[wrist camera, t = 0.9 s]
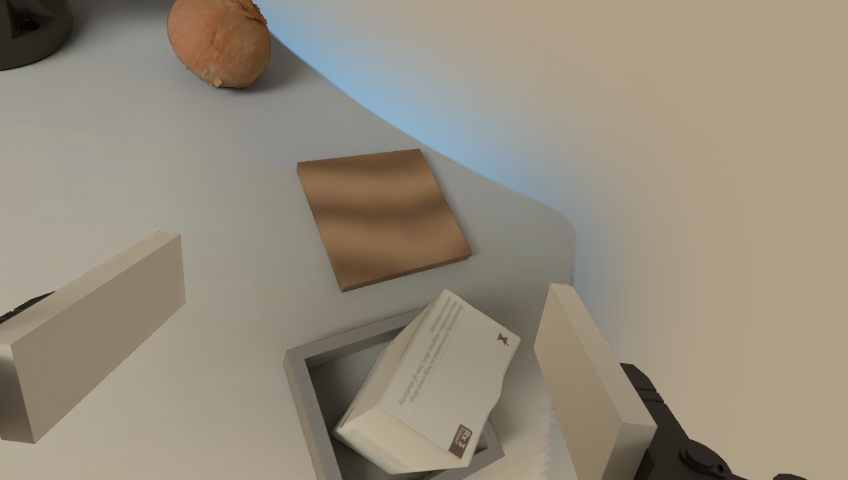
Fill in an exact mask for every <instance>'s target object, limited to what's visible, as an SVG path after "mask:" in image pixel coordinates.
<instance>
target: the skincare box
mask: <svg viewBox="0 0 848 480" xmlns="http://www.w3.org/2000/svg"><path fill="white" fill-rule="evenodd" d="M520 341H521V338H520V337H519V336H517V335H516V334H514V333H512V332H511V331H509V330H508V329H506V328H505V327H504V326H502V325H500V324H499V323H497V322H496V321H494V320H493V319H491V318H490V317H488V316H487V315H485V314H483V313H482V312H480V311H479V310H477V309H476V308H474V307H473V306H471V305H470V304H468V303H467V302H466V301H464V300H463V299H461V298H460V297H459V296H457V295H456V294H454V293H453V292H451V291H450V290H448V289H444V290H443V291H442V293H441V294H440V295H439V296H438V297H437V298H436V299H435V300H434V301H433V302H432V303H431V304H430V305H429V306H428V307H427V308H426V309H425V310H424V311H422V312H421V313H420V314H419V315H418V316H417V317H416V318H415V319H414V320H413V321H412V322H411V323H410V324H409V325H408V326H407V327H406V328H405V329H404V330H403V331H402V332H401V333H400V334H399V335H398V336H397V337H396V338H395V339H394V340H393V341H391V342H390V343H389V344H388V345H387V346H386V347H385V348H384V349H383V350H382V351H381V353H380V354H379V356H378V358H377V360H376V362H375V364H374V366H373V368H372V369H371V371H370V373H369V375H368V376H367V378H366V380H365V381H364V383H363V385H362V386H361V388H360V390H359V391H358V393H357V394H356V396H355V398H354V399H353V401H352V402H351V404H350V405H349V407H348V408H347V410H346V411H345V413H344V414H343V416H342V417H341V419H340V420H339V421H338V423H337V424H336V426H335V427H334V429H333V430H332V432H331V435H332V436H333V437H334V438H336V439H338V440H339V441H341V442H342V443H344V444H345V445H347V446H348V447H350V448H351V449H353V450H354V451H356V452H357V453H359V454H360V455H362V456H363V457H365V458H366V459H368V460H369V461H371V462H372V463H374V464H375V465H377V466H378V467H380V468H381V469H383V470H384V471H385V472H387V473H388V474H390V475H391V474H399V473H410V472H420V471H430V470H439V469H450V468H462V467H468V466H469V465H470V462H471V460H472V457H473V454H474V452H475V449H476V447H477V444H478V441H479V438H480V436H481V433H482V431H483V428H484V426H485V423H486V421H487V418H488V416H489V413H490V411H491V410H492V409H493V407H494V406H495V405H496V403H497V402H498V400H499V398H500V395H501V391H502V382H503V379H504V376H505V374H506V371H507V369H508V366H509V364H510V362H511V360H512V357H513V355H514V354H515V352H516V350H517V348H518V346H519V344H520Z"/></svg>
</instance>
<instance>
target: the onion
mask: <svg viewBox="0 0 848 480" xmlns="http://www.w3.org/2000/svg"><path fill="white" fill-rule="evenodd" d="M266 21H267V20H265V19H264V17H263V15H262V14H261V13H260V10H259V8H258V7H257V5H255V4H253V3H252V0H176V1H175V3H174V5H173V6H172V8H171V10H170V12H169V15H168V20H167V31H168V37H169V41H170V44H171V46H172V48H173V50H174V52H175V54H176V55H177V57H178V58H179V59H180V61H181V62H182V63H183V64H184V65H185V66H186V68H187V69H189V70H190V71H191V72H192V73H194V74H195V75H196V76H198V77H199V78H200V79H201V80H202V81H203V80H204V81H206V82H208V85H209V86H211V85H213V86H216V87H218V86H219V87H220V86H223V87H234V88H239V89H241V87H246V86H251V85H253V83H254V82H255V79H256V78H257V77H258V76H259V75H260V74H261V73H262V72H263V71H264V69H265V67H266V66H267V64H268V62H269V59H270V54H271V40H270V35H269V30H268V28H267V26H266V24H267V22H266ZM204 81H203V82H204Z"/></svg>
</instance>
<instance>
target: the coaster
mask: <svg viewBox="0 0 848 480" xmlns="http://www.w3.org/2000/svg"><path fill="white" fill-rule="evenodd" d="M297 173H298V175H299V178H300V181H301V183H302V186H303V189H304V191H305V194H306V197H307V200H308V202H309V205H310V208H311V210H312V213H313V216H314V219H315V221H316V224H317V227H318V229H319V232H320V235H321V238H322V240H323V243H324V246H325V248H326V251H327V254H328V257H329V259H330V262H331V265H332V267H333V270H334V273H335V276H336V278H337V281H338V284H339V286H340V289H341V292H346V291H349V290H353V289H357V288H361V287H364V286H368V285H372V284H376V283H379V282H383V281H387V280H390V279H394V278H398V277H402V276H405V275H409V274H413V273H417V272H420V271H424V270H428V269H432V268H435V267H439V266H443V265H447V264H450V263H454V262H458V261H462V260H465V259H468V258H469V257H470V256H471V254H472V252H471V250H470V248H469V246H468V244H467V242H466V240H465V238H464V236H463V234H462V232H461V230H460V228H459V226H458V224H457V222H456V220H455V218H454V216H453V214H452V212H451V210H450V208H449V206H448V204H447V202H446V200H445V198H444V196H443V194H442V192H441V190H440V188H439V186H438V185H437V183H436V181H435V179H434V177H433V175H432V173H431V171H430V169H429V167H428V165H427V163H426V161H425V159H424V157H423V155H422V153H421V151H420V149H412V150H403V151H394V152H385V153H377V154H368V155H359V156H351V157H342V158H333V159H324V160H316V161H307V162H298V165H297Z"/></svg>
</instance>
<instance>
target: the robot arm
mask: <svg viewBox="0 0 848 480" xmlns="http://www.w3.org/2000/svg"><path fill="white" fill-rule="evenodd" d="M72 26H73V18H72V14H71V11H70V8H69V5H68V2H67V0H0V70H1V69H7V68H12V67H17V66H21V65H25V64H28V63H31V62H34V61H36V60H39V59H41V58H43V57H45V56H47V55H49V54H50V53H52V52H54V51H55V50H56V49H58V48H59V47H60V46H61V45H62V44H63V43H64V42H65V41H66V40H67V38H68V37H69V35H70V33H71V30H72ZM185 303H186V302H185V288H184V275H183V262H182V248H181V235H180V234H176V233H169V232H161V231H158V232H156V233H154V234H153V235H151V236H149V237H148V238H146V239H144V240H143V241H141V242H139V243H137V244H136V245H134V246H132V247H131V248H129V249H127V250H126V251H124V252H122V253H121V254H119V255H117V256H115V257H114V258H112V259H110V260H109V261H107V262H105V263H104V264H102V265H100V266H98V267H97V268H95V269H93V270H92V271H90V272H88V273H87V274H85V275H83V276H81V277H80V278H78V279H76V280H75V281H73V282H71V283H70V284H68V285H66V286H64V287H63V288H61V289H59V290H58V291H54V292H51V293H48V294H45V295H42V296H39V297H36V298H33V299H31V300H29V301H27V302H26V303H24V304H22V305H20V306H19V307H17V308H15V309H14V311H13V312H11V311H10V312H8V313H7V314H5V315H3V316H1V317H0V435H1V439H2V440H8V441H16V442H25V443H33V444H35V443H36V442H37V441H38V440H39V439H41V438H42V437H43V436H44V435H45V434H46V433H47V432H48V431H49V430H50V429H51V428H52V427H53V426H54V425H56V424H57V423H58V422H59V421H60V420H61V419H62V418H63V417H64V416H65V415H66V414H67V413H68V412H69V411H70V410H72V409H73V408H74V407H75V406H76V405H77V404H78V403H79V402H80V401H81V400H82V399H83V398H84V397H85V396H86V395H88V394H89V393H90V392H91V391H92V390H93V389H94V388H95V387H96V386H97V385H98V384H99V383H100V382H101V381H103V380H104V379H105V378H106V377H107V376H108V375H109V374H110V373H111V372H112V371H113V370H114V369H115V368H116V367H117V366H119V365H120V364H121V363H122V362H123V361H124V360H125V359H126V358H127V357H128V356H129V355H130V354H131V353H132V352H134V351H135V350H136V349H137V348H138V347H139V346H140V345H141V344H142V343H143V342H144V341H145V340H146V339H147V338H148V337H150V336H151V335H152V334H153V333H154V332H155V331H156V330H157V329H158V328H159V327H160V326H161V325H162V324H163V323H164V322H166V321H167V320H168V319H169V318H170V317H171V316H172V315H173V314H174V313H175V312H176V311H177V310H178V309H179V308H181V307H182V306H183V305H184V304H185ZM534 350H535V353H536V356H537V359H538V362H539V365H540V368H541V371H542V374H543V377H544V380H545V383H546V386H547V389H548V392H549V395H550V398H551V400H552V403H553V406H554V409H555V412H556V415H557V418H558V421H559V424H560V427H561V430H562V433H563V436H564V439H565V442H566V445H567V448H568V450H569V453H570V457H571V460H572V462H573V465H574V468H575V471H576V474H577V477H578V480H747V479H745V478H741V477H739V476H736V475H734V474H732V472H731V470H730V469H729V467H728V465H727V463H726V462H725V461H724V460H723V459H722V458H721V457H720V456H719V455H718V454H716V453H715V452H714V451H712V450H711V449H709V448H708V447H706V446H705V445H703V444H701V443H698V442H696V441H694V440H690V439H689V438H688V436H687V435H686V433H685V432H684V430H683V429H682V427H681V426H680V424H679V423H678V421H677V420H676V418H675V417H674V415H673V414H672V412H671V411H670V409H669V408H668V406H667V405H666V404H664V401H663V400H662V398H661V396H660V395H659V393H657V392H656V389H655V387H654V386H653V384H652V383H651V381H650V380H649V378H648V377H647V376H646V375H645V374H644V373H642V372H641V371H640V370H639V369H638V368H636V367H635V366H634V365H632V364H625V363H619V362H618V361H617V359H616V357H615V356H614V354H613V352H612V351H611V349H610V347H609V346H608V344H607V343H606V341H605V339H604V338H603V336H602V334H601V333H600V331H599V329H598V328H597V326H596V325H595V323H594V321H593V320H592V318H591V316H590V315H589V313H588V311H587V310H586V308H585V306H584V305H583V303H582V301H581V300H580V299H579V297H578V295H577V293H576V292H575V290H574V288H573V287H572V286H570V285H563V284H555V283H551V284H550V287H549V291H548V295H547V299H546V302H545V306H544V310H543V314H542V318H541V321H540V325H539V329H538V333H537V337H536V340H535V344H534ZM773 480H807V479H805V478H802V477H799V476H795V475H792V474H778V475H777V476H775V477H774V478H773Z"/></svg>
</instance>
